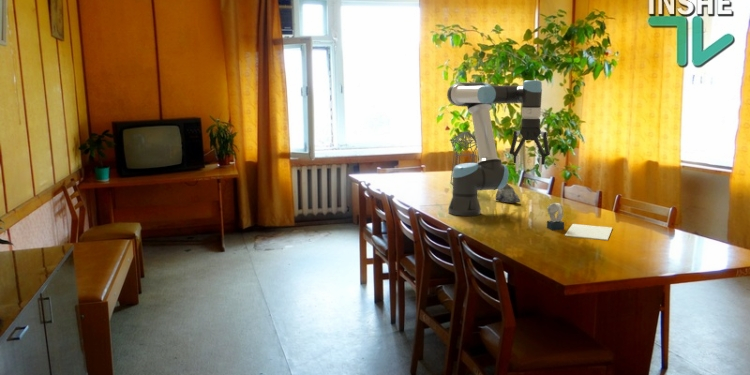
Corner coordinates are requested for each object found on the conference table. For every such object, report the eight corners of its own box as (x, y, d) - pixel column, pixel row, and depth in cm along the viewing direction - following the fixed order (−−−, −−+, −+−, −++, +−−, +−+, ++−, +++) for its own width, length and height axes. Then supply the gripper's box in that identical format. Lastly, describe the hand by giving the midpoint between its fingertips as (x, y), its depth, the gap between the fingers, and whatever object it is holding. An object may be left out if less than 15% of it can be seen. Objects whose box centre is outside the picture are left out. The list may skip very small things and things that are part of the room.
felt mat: (564, 235, 231) (564, 234, 231) (572, 224, 251) (572, 223, 250) (607, 240, 224) (607, 239, 224) (612, 228, 243) (612, 227, 243)
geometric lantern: (446, 190, 337) (449, 130, 332) (473, 190, 339) (475, 130, 334) (453, 195, 322) (456, 131, 317) (480, 195, 324) (484, 132, 318)
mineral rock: (521, 205, 294) (522, 185, 293) (500, 205, 294) (501, 185, 292) (514, 200, 307) (514, 181, 305) (494, 200, 307) (494, 181, 305)
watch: (556, 226, 248) (557, 201, 246) (566, 230, 240) (567, 204, 238) (544, 226, 247) (545, 201, 245) (553, 231, 239) (555, 205, 237)
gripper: (502, 117, 242) (500, 171, 246) (556, 118, 233) (553, 174, 237) (507, 117, 249) (505, 169, 253) (559, 118, 240) (556, 172, 243)
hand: (528, 171), depth 245 cm, fingers open, 9 cm apart
